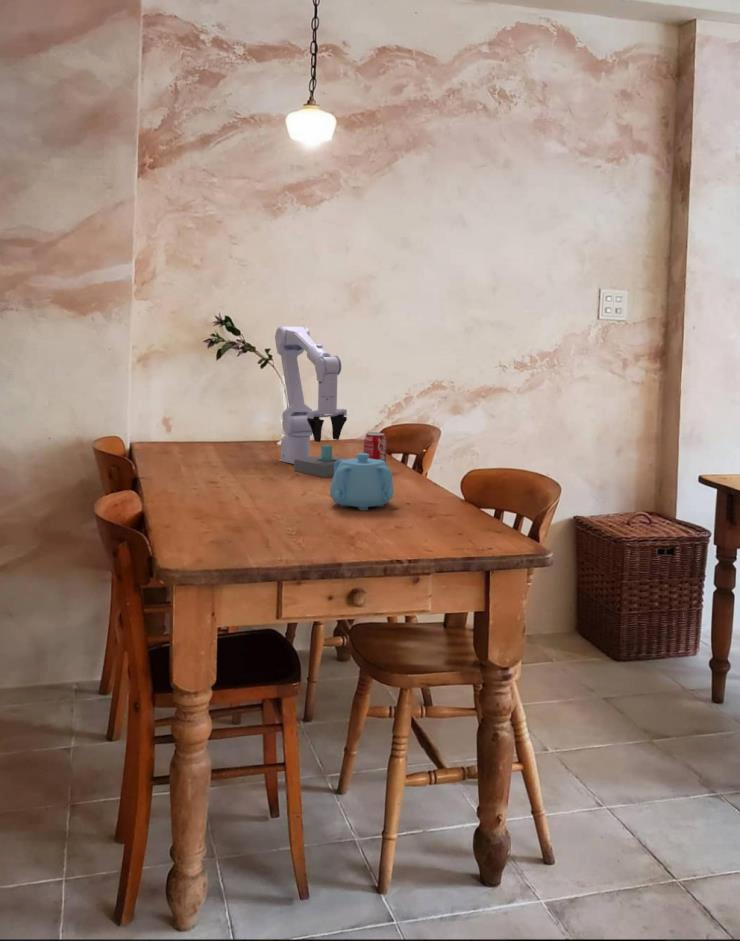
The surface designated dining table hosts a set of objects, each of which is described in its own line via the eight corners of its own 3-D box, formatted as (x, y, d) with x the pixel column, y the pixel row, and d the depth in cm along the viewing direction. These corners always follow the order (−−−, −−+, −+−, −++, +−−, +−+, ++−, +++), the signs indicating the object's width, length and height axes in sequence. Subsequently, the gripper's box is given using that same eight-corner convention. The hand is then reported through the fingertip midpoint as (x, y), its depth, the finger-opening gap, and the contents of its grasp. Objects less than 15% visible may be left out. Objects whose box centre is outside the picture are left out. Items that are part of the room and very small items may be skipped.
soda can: (386, 470, 291) (387, 432, 289) (384, 474, 284) (385, 435, 282) (364, 469, 292) (365, 431, 290) (361, 473, 285) (362, 434, 283)
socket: (294, 470, 286) (294, 459, 286) (328, 466, 296) (328, 455, 295) (324, 477, 276) (324, 465, 276) (358, 472, 286) (358, 461, 285)
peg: (318, 471, 286) (319, 445, 285) (326, 470, 288) (327, 445, 287) (325, 473, 284) (326, 447, 282) (334, 471, 286) (334, 446, 285)
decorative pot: (332, 498, 248) (333, 448, 245) (392, 499, 247) (393, 449, 245) (328, 511, 232) (328, 458, 229) (392, 513, 231) (393, 459, 229)
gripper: (318, 398, 274) (317, 444, 277) (353, 396, 284) (352, 440, 287) (302, 396, 279) (302, 441, 282) (338, 394, 289) (337, 437, 292)
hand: (326, 440), depth 284 cm, fingers open, 7 cm apart
